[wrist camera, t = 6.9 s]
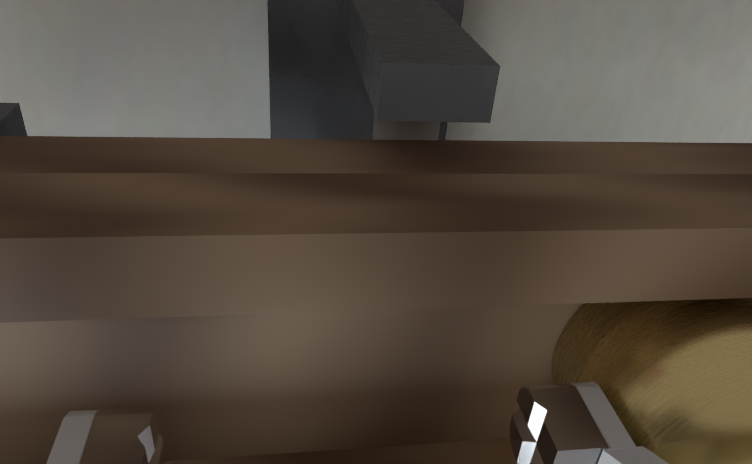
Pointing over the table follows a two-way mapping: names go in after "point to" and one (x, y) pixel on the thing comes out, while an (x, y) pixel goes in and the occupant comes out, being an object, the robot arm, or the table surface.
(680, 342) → the cylinder
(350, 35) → the beam stand
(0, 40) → the table surface
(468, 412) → the balance beam
